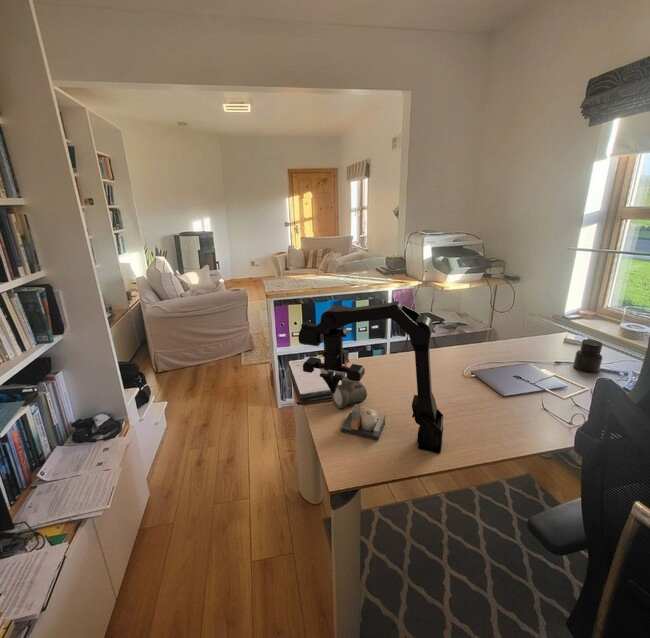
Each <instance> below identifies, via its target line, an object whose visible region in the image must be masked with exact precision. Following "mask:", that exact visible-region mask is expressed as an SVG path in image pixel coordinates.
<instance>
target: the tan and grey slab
mask: <svg viewBox="0 0 650 638" xmlns="http://www.w3.org/2000/svg"><path fill="white" fill-rule="evenodd" d="M364 409H366V408H364V407H361V405H360V404H357V403H355V405H354V406H353V408H352V410H351V413H352V420H351V429H354V430H358V428H359V426H360V424H361V411H362V410H364Z"/></svg>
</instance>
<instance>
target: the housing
mask: <svg viewBox="0 0 650 638" xmlns="http://www.w3.org/2000/svg"><path fill="white" fill-rule="evenodd" d="M377 419H378V413H377V411H376V410H374V409H372V408H365V409H364V410H362V411H361V427H362V428H363V429H365V430H373V429H374V428H375V426H376V424H377Z"/></svg>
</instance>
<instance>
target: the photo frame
mask: <svg viewBox="0 0 650 638" xmlns="http://www.w3.org/2000/svg"><path fill="white" fill-rule="evenodd" d="M540 370H541V371H542V372H544V373H546V374H548V375H550V376H552V377H556V378H559V379H561V380H563V381H566V382H568V383H570V384H572V385H574V386H577V387H580V388H582V389H581V390H578V391H576V392H573V393H571V394H568V395H565V396H563V395H561V394H559V393H556V392H554V391H552V390H550V389H548V388H546V389H545V390H544V391H545V392H548V393H550V394H552V395H554V396H556V397H559V398H560V399H562V400H567V399H569V398H572V397H574V396H576V395H579V394H582V393H584V392H588V391H589V389H590V388H589V387H587V386H584V385H581V384H579V383H577V382H574V381H573V380H570V379H568V378H566V377H563V376H560V375H558V374H556V373H554V372H552V371H549V370H547V369H544V368H543V369H540Z"/></svg>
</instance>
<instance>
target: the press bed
mask: <svg viewBox="0 0 650 638" xmlns="http://www.w3.org/2000/svg"><path fill="white" fill-rule="evenodd" d="M351 420H352V412H349V414H348V416H347V417H346V418H345V420H344V422H343V424H342V425H341V428H340V432H341V433H343V434H348V435H352V436H357V437H360V438H363V439H369V440H372V441H377V442H379V439H380V437H381V434H382V432H383V430H384V427H385V425H386V414H383V413H382V414H379V417H378V418H377V424H376V426H375V428H374V429H373V430H365V429H363V428H362V427H361V424H360V426H359V428H358V430H354V429H351Z"/></svg>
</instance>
